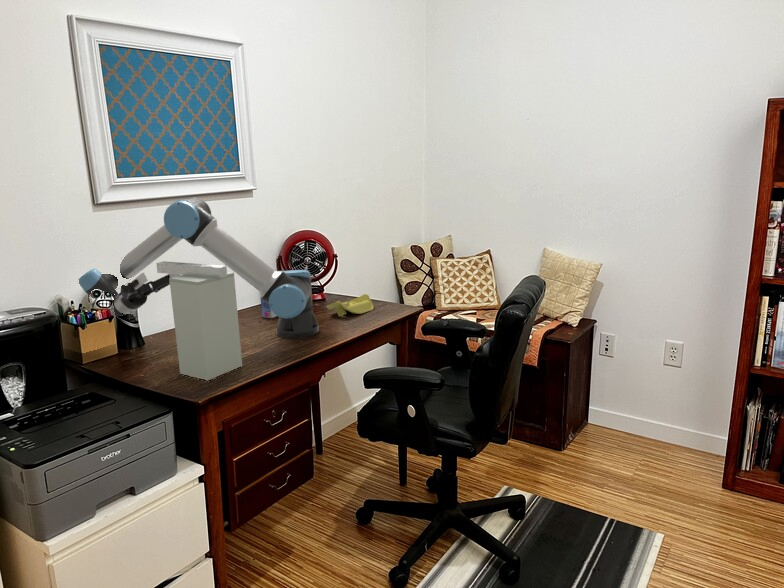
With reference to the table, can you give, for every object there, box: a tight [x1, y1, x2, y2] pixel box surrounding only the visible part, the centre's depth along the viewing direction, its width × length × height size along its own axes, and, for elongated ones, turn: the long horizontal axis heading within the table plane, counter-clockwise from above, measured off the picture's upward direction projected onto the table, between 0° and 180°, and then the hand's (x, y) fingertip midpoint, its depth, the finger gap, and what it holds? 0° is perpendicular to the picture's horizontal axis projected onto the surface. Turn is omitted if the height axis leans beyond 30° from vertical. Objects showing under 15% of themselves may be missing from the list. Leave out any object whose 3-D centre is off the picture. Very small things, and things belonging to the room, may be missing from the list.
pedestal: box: [169, 271, 243, 380], centre depth 188 cm, size 12×14×30 cm
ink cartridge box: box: [260, 297, 278, 319], centre depth 250 cm, size 10×6×14 cm, turn 149°
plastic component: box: [326, 293, 375, 318], centre depth 251 cm, size 20×7×10 cm
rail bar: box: [155, 260, 228, 278], centre depth 186 cm, size 24×3×3 cm, turn 66°
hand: (163, 272), depth 193 cm, fingers open, 13 cm apart
